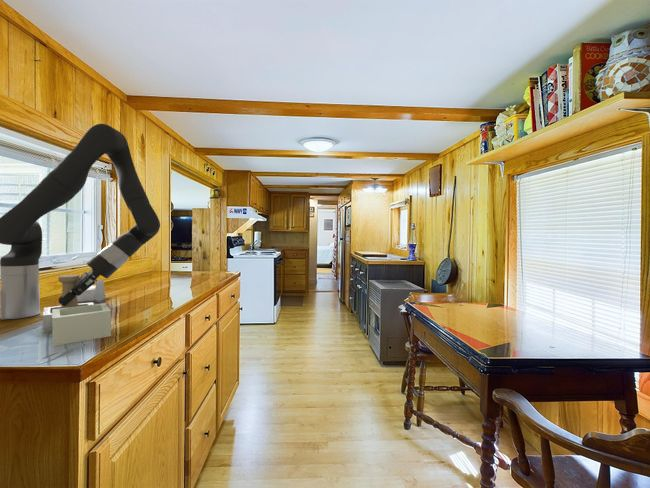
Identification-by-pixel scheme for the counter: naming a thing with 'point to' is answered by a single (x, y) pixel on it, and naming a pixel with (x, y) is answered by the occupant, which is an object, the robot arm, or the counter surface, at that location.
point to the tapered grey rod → (99, 292)
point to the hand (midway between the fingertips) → (61, 302)
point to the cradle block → (80, 323)
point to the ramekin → (87, 295)
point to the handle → (69, 288)
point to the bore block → (48, 317)
